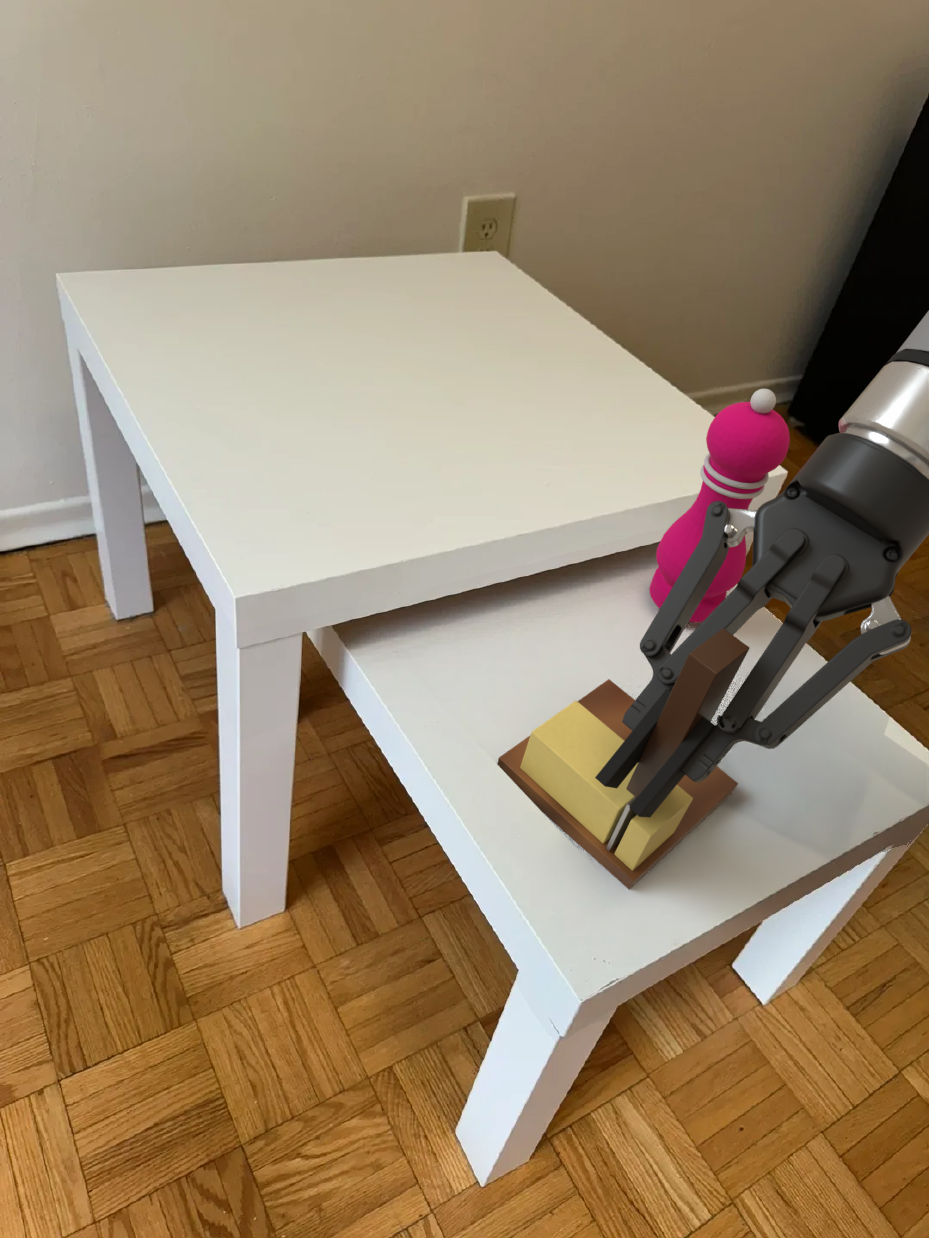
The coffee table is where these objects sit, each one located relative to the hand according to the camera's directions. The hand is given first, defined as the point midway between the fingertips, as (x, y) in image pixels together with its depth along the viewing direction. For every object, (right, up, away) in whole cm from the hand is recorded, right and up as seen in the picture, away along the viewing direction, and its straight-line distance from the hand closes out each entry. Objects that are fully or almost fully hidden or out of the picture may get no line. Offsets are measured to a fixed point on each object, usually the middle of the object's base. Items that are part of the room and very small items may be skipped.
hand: (623, 797), depth 53 cm
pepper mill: (+10, +12, +27) cm, 31 cm away
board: (+1, -1, +12) cm, 12 cm away
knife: (+2, -4, +7) cm, 8 cm away
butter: (0, -2, +9) cm, 9 cm away
